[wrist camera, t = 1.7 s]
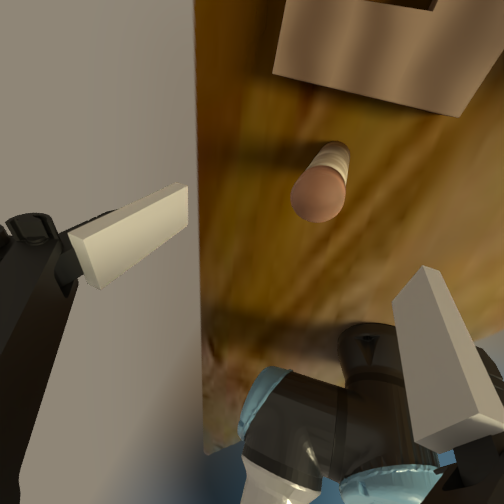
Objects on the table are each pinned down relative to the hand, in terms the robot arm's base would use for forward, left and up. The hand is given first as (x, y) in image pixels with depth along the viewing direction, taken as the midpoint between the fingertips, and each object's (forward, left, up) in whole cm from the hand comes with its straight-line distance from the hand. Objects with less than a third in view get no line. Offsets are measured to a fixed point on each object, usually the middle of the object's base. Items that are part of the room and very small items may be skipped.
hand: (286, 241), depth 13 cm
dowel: (-1, 0, -23) cm, 23 cm away
